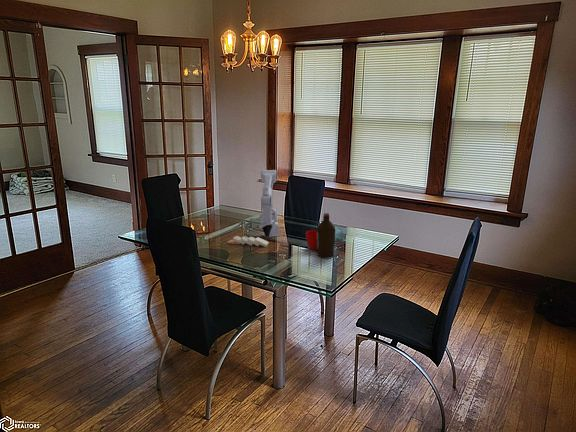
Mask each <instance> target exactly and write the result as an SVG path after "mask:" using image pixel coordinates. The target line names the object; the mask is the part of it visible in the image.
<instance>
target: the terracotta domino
mask: <svg viewBox="0 0 576 432" xmlns="http://www.w3.org/2000/svg"><path fill="white" fill-rule="evenodd" d="M227 244H233V245H241V243H238V242H236V241H234V240H233V239H230V240H229V241H227Z"/></svg>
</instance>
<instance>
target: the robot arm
mask: <svg viewBox="0 0 576 432" xmlns="http://www.w3.org/2000/svg"><path fill="white" fill-rule="evenodd" d="M260 179H261V183H264V187H263V188H262V195H261V197H260V205H261V221H260V224H259V225H258V228H259V229H262V231H263V233H262V234H261V236H263V237H265V238H272V237H279V236H280V234H279V229H280V227H279V223H278V222H277V221H278V219H277V217H278V215H277V210H276V209H275V208H274V207H273V186H274V184H275V183H277V170H276V169H270V170H269V169H261V171H260Z"/></svg>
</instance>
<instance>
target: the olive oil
mask: <svg viewBox="0 0 576 432" xmlns="http://www.w3.org/2000/svg"><path fill="white" fill-rule="evenodd" d="M322 217H323V218H322V221H321V222H320V223H318V225H317V227H316V230H317V251H316V252H317V253H316V254H317V257H318V258H321V259H330V258H333V257H334V254H335V241H336V240H335V238H336V227H335V225H334V224H333V223H332V222H331V220H330V213H328V212H327V213H326V212H324V213H323V216H322Z"/></svg>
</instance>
